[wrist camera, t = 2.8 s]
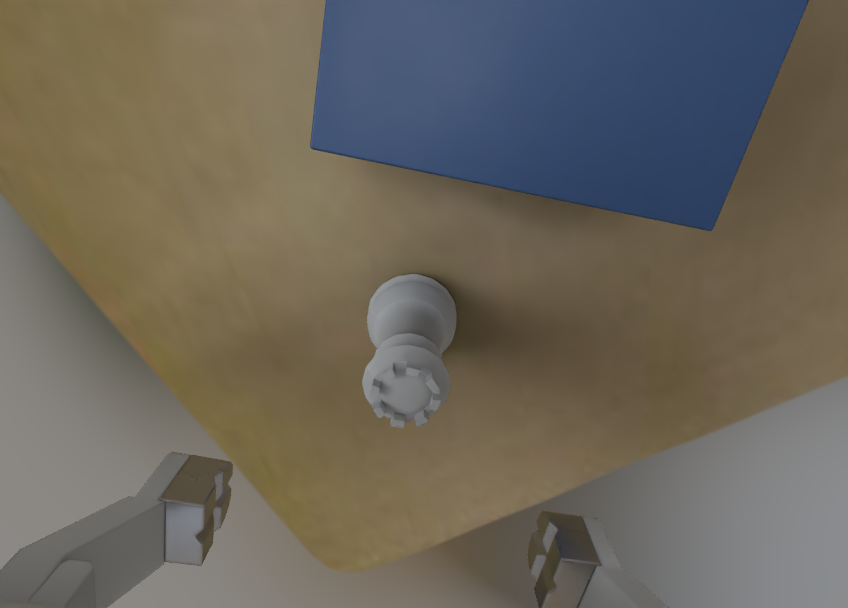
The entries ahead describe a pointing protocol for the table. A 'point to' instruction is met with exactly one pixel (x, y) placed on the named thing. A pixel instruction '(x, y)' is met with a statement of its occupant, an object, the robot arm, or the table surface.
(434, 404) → the rook chess piece
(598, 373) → the table surface
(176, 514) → the robot arm
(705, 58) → the blue box
